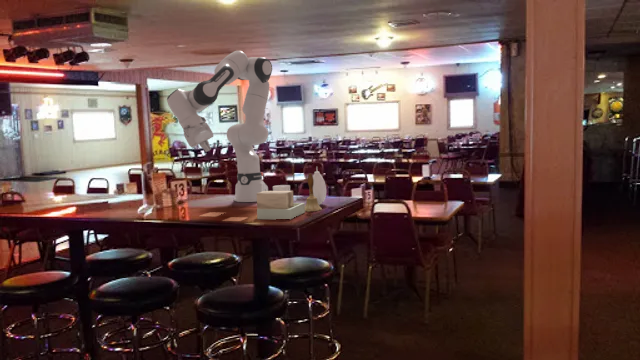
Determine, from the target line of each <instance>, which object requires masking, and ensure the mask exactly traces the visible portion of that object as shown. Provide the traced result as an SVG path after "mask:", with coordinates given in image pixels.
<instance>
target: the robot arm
mask: <svg viewBox="0 0 640 360" xmlns="http://www.w3.org/2000/svg"><path fill="white" fill-rule="evenodd" d="M213 72H214V75H213V76H212V77H211V78H209V79H207V80H203V81H201V82H199V83H198V84H197V85H196V86H195V87H194V88H193V89H192V90H186V89H185V90H183V89H181V88H176V89H175V90H173V91H172V92H171V93H169V95H168V96H167V98H166V102H167V104H168V107H169V109H170V110H171V112H172V114H173V115H174V116H175V117H176V118H177V120H178V123H179V125H180V126H181V128H182V129H183V137H184V139H185V141H186V142H187V144H188V145H189V147H191V148H194V147H196V146H198V145H199V146H200V147H201V148H202V149H203V150H204V151H205V153H207V152H210V151H211V150H212V147H211V146H210V142H209V140H210V139H212V138H214V132H213V130H212V129H211V128H210V125H209V124H208V122H207V119H206V117H203V116H200V115H199V114H198V113H200V112H202V111H203V110H205V109H207V107H209V106H210V105H212V104H213V103H215V102H216V100H217V99H218V96H219V93H220V91H221V90H222V88H223V87H225V85H230V84H232V83H233V82H235V81H237V80H240V81H248V84H249V85H248V87H247V90H246V95H245V98H244V101H243V106H242V112H243V114H244V115H245V116H244V117H245V119H244V123H236V124H234V125H230V126H229V128H228V129H227V130H226V139H227V141H228V142H229V143H230V144H231V146H232V148H233V150H234V152H235V155H236V163H237V174H236V177H237V178H236V179H237V182H236V184H235V189H234V190H235V191H234V192H235V193H234V194H235V195H234V198H233V199H232V201H234V202H237V203H254V202H255V203H257V193H259V192H262V191H269V187H268V185H267V183H265V182H264V181H263V177H264V172H262V171H261V165H260V156H259V155H258V154H257V152H256V151H255V150H254V147H253V146H257V145H262V144H263V143H265V142H266V141H267V139H268V138H269V131H268V129H267V127H266V126H265V111H266V107H267V103H268V99H269V92H270V82H269V80H270V78H271V76H272V74H273V73H272V72H273V65H272V62H271V60H270V59H269V58H267V57H263V56H260V57H256V56H254V57H251V56H250V57H248V56H247V54H246V53H245V52H243V51H242V50H234V51H232V52H231V53H229V54H228V55H226V56H225V57H224V58H223V59H221V61H220V62H218V63H217V65H216V67H215V68H214V70H213Z"/></svg>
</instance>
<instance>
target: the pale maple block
mask: <svg viewBox="0 0 640 360" xmlns="http://www.w3.org/2000/svg"><path fill="white" fill-rule="evenodd" d="M294 203H295V202H294V190H290V191H273V190H268V191H262V192H259V193H257V201H256V210H257V209H290V208H292V207H294Z"/></svg>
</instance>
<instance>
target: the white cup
mask: <svg viewBox="0 0 640 360" xmlns="http://www.w3.org/2000/svg"><path fill="white" fill-rule="evenodd" d="M272 191H291V185H290V184H280V185H279V184H278V185H273V186H272Z"/></svg>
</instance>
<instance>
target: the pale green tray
mask: <svg viewBox="0 0 640 360" xmlns="http://www.w3.org/2000/svg"><path fill="white" fill-rule="evenodd" d="M305 206H306V203H305V202H294V207H292V208H290V209H257V208H256V215H257V217H256V219H257V220H276V219H290V220H292V219H294V217H295V218H296V216H297V217H299V216H302V214H305V213H306V211H305Z"/></svg>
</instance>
